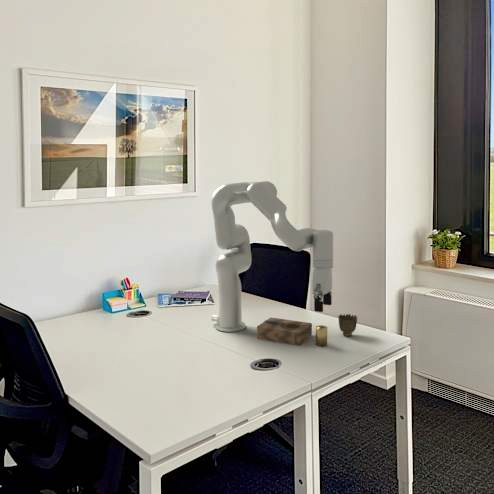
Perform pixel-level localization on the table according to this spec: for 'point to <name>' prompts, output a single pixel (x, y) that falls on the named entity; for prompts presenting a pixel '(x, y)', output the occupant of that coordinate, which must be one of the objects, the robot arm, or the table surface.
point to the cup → (347, 324)
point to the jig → (284, 331)
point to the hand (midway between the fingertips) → (323, 308)
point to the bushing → (321, 336)
